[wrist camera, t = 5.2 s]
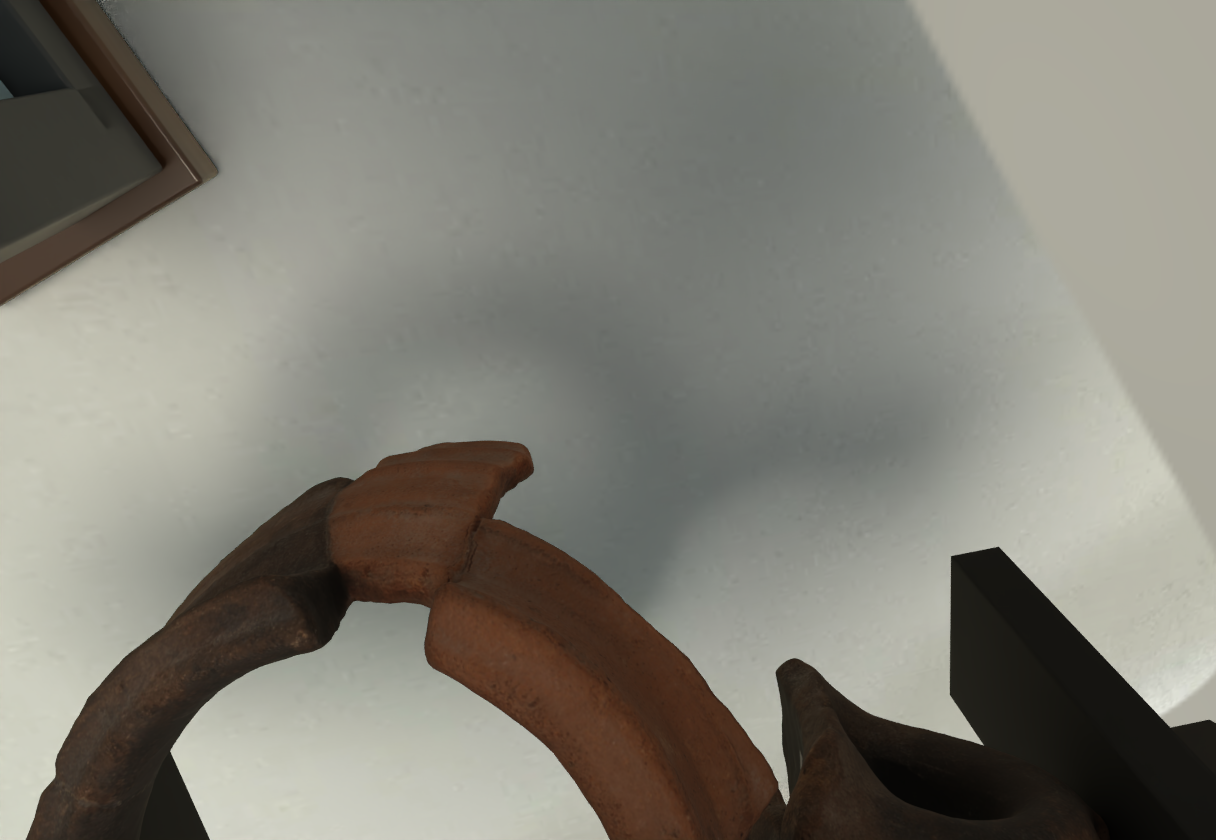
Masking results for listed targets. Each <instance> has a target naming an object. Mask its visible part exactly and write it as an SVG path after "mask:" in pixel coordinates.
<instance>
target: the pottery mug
mask: <svg viewBox="0 0 1216 840" xmlns="http://www.w3.org/2000/svg"><path fill="white" fill-rule="evenodd" d="M533 472H534V466H533V462H532V458H531V455H530V452H529V450H528V449H527V448H526V447H525V446H524V445H522V444H520V443H514V442H506V441H472V442H456V443H450V442H446V443H440V444H435V445H431V446H428V447H424V448H421V449H419V450H418V451H414V452H409V453H403V454H398V455H392V456H388V457H386V458H383V459H382V460H381V461H380V462H379V463H378V465H377V467H376V468H374V469H371V470H369V471H367V472H365V473H364V474H363V475H362V476H361V477H359V478H358V479H356V480H355V481H353V480H351V479H348V478H342V477H339V478H334V479H331V480H328V481H325V482H322V483H320V484H317V485H315V486H314V487H312V488H310V489H309V490H307V491H306V492H305V493H304V494H302V495H301V496H300V497H298V498H297V499H296V500H295V501H293V502H292V503H291V504H290V505H288V506H286V507H284V508H283V509H282V510H281V511H280V512H278V513H277V514H276V515H274V516H273V517H272V518H271V519H269V520H268V521H267V522H265V523H264V524H263V525H261V526H260V527H259V528H258V529H257V530H256V531H255V532H254V533H253V534H252V535H251V536H250V537H248V538H247V539H246V540H244V541H243V542H242V543H241V544H240V545H239V546H238V547H236V548H235V549H234V550H233V551H232V552H231V553H230V554H228V555H227V556H226V557H225V558H224V559H222V560H221V562H220V563H219V564H218V565H217V566H216V567H215V568H214V569H213V570H212V571H211V572H210V573H209V574H208V575H207V576H206V577H204V579H203V580H202V581H201V582H200V583H199V584H198V585H197V586H196V587H195V588H194V589H193V591H192V592H191V593H190V594H189V595H188V596H187V598H186V599H185V600H184V602H183V603H182V604H181V605H180V606H179V607H178V608H177V610H176V611H175V612H174V614H173V615H172V617H171V618H170V619H169V621H168V622H167V623H166V625H165V626H164V628H162V629H161V630H159V631H158V632H156V633H155V634H154V635H152V636H151V637H150V638H149V639H147V640H146V641H145V642H144V643H142V644H141V645H140V646H139V647H137V648H136V649H135V650H133V651H132V652H131V653H129V654H128V655H127V656H126V657H125V658H123V660H122V661H121V662H120V663H119V664H118V665H117V666H116V667H115V668H114V669H113V670H112V672H111V673H110V674H109V675H108V676H107V677H106V678H105V680H104V681H103V682H102V683H101V685H100V686H99V687H98V688H97V689H96V690H95V691H94V692H93V693H92V694H91V695H90V696H89V697H88V699H87V701H86V703H85V705H84V707H83V709H82V711H81V713H80V715H79V716H78V718H77V719H76V721H75V722H74V724H73V726H72V728H71V730H70V733H69V734H68V736H67V738H66V739H65V741H64V743H63V746H62V748H61V749H60V751H59V753H58V755H57V759H56V762H55V767H56V776H55V778H54V780H53V781H52V782H51V783H50V784H49V785H48V786H47V788H46V789H45V790H44V791H43V792H42V794H41V796H40V800H39V803H38V806H37V810H36V814H35V818H34V820H33V823H32V825H31V828H30V831H29V833H28V836H27V838H26V840H139V837H140V833H141V827H142V822H143V817H144V813H145V810H146V806H147V803H148V800H149V797H150V794H151V791H152V788H153V784H154V781H155V778H156V776H157V774H158V771H159V769H160V767H161V764H162V762H163V761H164V759H165V758H166V756H167V755H168V753H169V752H170V750H171V748H172V747H173V745H174V743H175V742H176V740H177V739H178V737H179V736H180V734H181V733H182V731H183V730H184V728H185V727H186V726H187V724H188V723H189V722H190V720H191V719H192V718H193V717H194V716H195V714H196V713H197V712H198V711H199V709H200V708H201V707H202V706H203V705H204V704H205V703H206V702H208V701H209V700H210V699H211V698H212V697H213V696H214V695H215V694H216V693H217V692H218V691H220V690H221V689H223V688H224V687H226V686H227V685H229V684H230V683H232V682H233V681H235V680H236V679H238V678H240V677H242V676H243V675H245V674H246V673H248V672H250V671H252V670H254V669H256V668H259V667H261V666H264V665H266V664H270V663H273V662H276V661H280V660H283V659H287V658H290V657H292V656H295V655H299V654H305V653H309V652H313V651H315V650H318V649H320V648H322V647H323V646H325V645H326V644H327V643H328V642H329V641H330V640H331V639H332V637H333V635H334V633H335V632H336V631H337V630H338V628H339V626H340V621H341V620H342V619H343V617H344V616H345V614H346V611H347V609H348V607H349V606H350V605H351V604H352V603H353V602H354V601H362V602H369V601H371V602H375V603H389V604H391V603H401V602H407V603H414V604H421V605H424V606H426V607H429V608H431V610H430V614H429V619H428V626H427V632H426V637H425V642H424V649H425V656H426V659H427V662H428V663H429V665H430V666H431V667H432V668H434V669H435V670H437V671H439V672H441V673H444V674H445V675H447V676H449V677H451V678H453V679H454V680H456V681H458V682H459V683H461V684H463V685H464V686H465V687H467V688H468V689H470V690H471V691H473V692H474V693H476V694H477V695H479V696H480V697H482V698H484V699H485V700H487V701H489V702H490V703H492V704H493V705H494V706H496V707H497V708H499V709H500V710H501V711H503V712H504V713H505V714H507V715H508V716H509V717H511V718H512V719H513V720H515V721H516V722H518V723H519V724H520V725H522V726H523V727H524V728H526V729H527V730H528V731H529V732H530V733H532V734H533V735H534V736H535V737H537V738H538V739H539V740H540V741H541V742H542V743H543V744H544V745H546V746H547V747H548V748H549V749H550V750H551V751H552V752H553V753H554V755H555V756H556V757H557V759H558V760H559V761H560V763H561V764H562V765H563V767H564V768H565V769H566V771H567V772H568V773H569V774H570V776H571V777H572V778H573V780H574V781H575V782H576V784H577V786H578V787H579V789H580V790H581V792H582V793H583V795H584V797H585V798H586V800H587V801H588V803H589V804H590V805H591V807H592V808H593V809H594V811H595V812H596V814H597V815H598V817H599V819H600V821H601V823H602V825H603V827H604V829H605V831H606V833H607V835H608V837H609V839H610V840H1110V835H1109V829H1108V827H1107V825H1106V824H1105V822H1104V821H1103V819H1102V818H1101V816H1100V815H1098V814H1097V813H1095V812H1094V810H1093V809H1091V808H1090V807H1089V806H1088V805H1087V804H1086V803H1085V802H1084V801H1083V800H1082V798H1081V797H1080V796H1079V795H1078V794H1077V793H1076V792H1075V791H1074V790H1072V789H1071V788H1070V787H1069V786H1068V785H1066V784H1065V783H1064V782H1062V781H1061V780H1059V779H1058V778H1056V777H1055V776H1053V775H1052V774H1050V773H1048V772H1047V771H1045V770H1044V769H1042V768H1040V767H1038V766H1036V765H1034V764H1031V763H1029V762H1027V761H1024V760H1022V759H1020V758H1017V757H1015V756H1013V755H1010V754H1007V753H1004V752H1001V751H998V750H995V749H993V748H990V747H987V746H983V745H980V744H977V743H974V742H971V741H967V740H963V739H959V738H955V737H951V736H948V735H945V734H941V733H937V732H933V731H929V730H926V729H922V728H917V727H911V726H907V725H904V724H900V723H896V722H893V721H889V720H886V719H883V718H880V717H877V716H873V715H871V714H869V713H867V712H866V711H864V710H862V709H861V708H859V707H858V706H856V705H855V704H854V703H852V702H851V701H849V700H848V699H847V698H845V697H844V696H843V695H842V694H841V693H840V692H838V691H837V690H836V689H835V688H834V687H832V686H831V685H830V684H829V683H828V682H827V681H826V680H825V679H824V678H823V676H822V675H821V674H820V673H819V672H818V671H817V670H816V669H815V668H813V667H812V666H810V665H809V664H806V663H805V662H803V661H801V660H799V659H797V658H793V659H790V660H788V661H786V662H784V663H783V664H782V665H781V666H780V667H779V668H778V669H777V670H776V677H777V682H778V687H779V693H780V699H781V705H782V746H783V753H784V757H785V761H786V766H787V774H788V785H789V794H790V798H789V801H788V804H787V805H786V804H785V802H784V800H783V797H782V794H781V792H780V790H779V788H778V781H777V779H776V778H775V776H774V773H773V771H772V769H771V767H770V765H769V764H768V762H767V761H766V759H765V757H764V756H763V754H762V753H761V752H760V751H759V750H758V749H757V748H756V747H755V746H754V744H753V743H752V741H751V740H750V738H749V737H748V735H747V733H746V732H745V730H744V729H743V728H742V727H741V725H740V724H739V723H738V722H737V720H736V719H735V718H734V716H733V715H732V713H731V712H730V711H729V709H728V708H727V707H726V706H725V705H724V704H723V703H722V702H721V701H720V700H719V699H718V698H717V697H716V696H715V695H714V694H713V692H712V691H711V689H710V688H709V686H708V684H707V683H706V681H705V679H704V678H703V677H702V676H701V674H700V673H699V672H698V670H697V669H696V668H695V666H694V665H693V663H692V662H691V661H690V659H689V658H688V657H687V656H686V655H685V654H683V653H682V652H681V651H680V650H679V649H678V648H677V647H676V646H675V645H674V644H673V643H671V642H670V641H669V640H668V639H666V638H665V637H664V636H663V635H662V634H660V633H659V632H658V631H657V630H655V629H654V628H653V626H652V625H651V624H649V623H648V622H647V621H646V620H645V619H644V618H643V617H642V616H641V615H640V614H638V613H637V612H636V611H634V610H633V609H632V608H631V607H630V606H629V605H628V604H626V603H625V602H624V601H623V599H622V598H621V596H620V595H619V594H617V593H616V592H615V591H614V590H613V589H612V588H610V587H609V586H608V585H607V584H606V583H605V582H604V581H603V580H601V579H600V578H599V577H598V576H597V575H596V574H595V573H594V572H592V571H591V570H589V569H588V568H587V567H585V566H584V565H582V564H581V563H580V562H578V561H577V560H575V559H574V558H572V557H571V556H569V555H568V554H567V553H565V552H563V551H562V550H560V549H558V548H556V547H555V546H553V545H551V544H549V543H548V542H546V541H544V540H542V539H540V538H538V537H536V536H534V535H532V534H530V533H528V532H527V531H524V530H522V529H519V528H516V527H514V526H512V525H511V524H509V523H507V522H504V521H501V520H495V519H493V516H494V514H495V512H496V509H497V507H498V504H499V501H500V498H502V497H503V496H504V495H505V493H506V492H508V491H509V490H511V489H513V488H515V487H516V486H517V484H518V483H519V482H522V481H524V480H526V479H527V478H528V477H529V476H531V475H532V474H533Z"/></svg>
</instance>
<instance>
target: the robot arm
mask: <svg viewBox="0 0 1216 840" xmlns="http://www.w3.org/2000/svg"><path fill="white" fill-rule="evenodd" d="M950 696H951V697H952V699H953V700H954V701H955V703H956V704H957V706H958V707H959V709H960V710H961V712H962V713H963V715H964V716H965V718H966V719H967V721H968V722H969V724H970V725H971V727H972V728H973V730H974V731H975V733H976V734H977V736H978V737H979V738H980V740H981V741H982V743H983V744H984V746H987V747H990V748H993V749H995V750H998V751H1001V752H1004V753H1007V754H1010V755H1013V756H1015V757H1017V758H1020V759H1022V760H1024V761H1027V762H1029V763H1031V764H1034V765H1036V766H1038V767H1040V768H1042V769H1044V770H1045V771H1047V772H1048V773H1050V774H1052V775H1053V776H1055V777H1056V778H1058V779H1059V780H1061V781H1062V782H1064V783H1065V784H1066V785H1068V786H1069V787H1070V788H1071V789H1072V790H1074V791H1075V792H1076V793H1077V794H1078V795H1079V796H1080V797H1081V798H1082V800H1083V801H1084V802H1085V803H1086V804H1087V805H1088V806H1089V807H1090V808H1091V809H1093V810H1094V812H1095V813H1097V814H1098V815H1100V816H1101V818H1102V819H1103V821H1104V822H1105V824H1106V825H1107V827H1108V829H1109V835H1110V840H1216V723H1214V722H1212V721H1211V720H1205V721H1201V722H1196V723H1191V724H1187V725H1182V726H1177V727H1172V728H1170V727H1169V726H1168V725H1167V724H1166V723H1165V722H1164V721H1163V720H1162V719H1161V717H1160V716H1159V715H1158V714H1157V713H1156V712H1155V711H1154V710H1153V709H1152V708H1151V707H1150V706H1149V705H1148V704H1147V703H1146V702H1145V701H1144V700H1143V698H1142V697H1141V696H1140V695H1139V694H1138V693H1137V692H1136V691H1135V690H1134V689H1133V688H1132V687H1131V686H1130V685H1129V684H1128V683H1127V682H1126V681H1125V679H1124V678H1123V677H1122V676H1121V675H1120V674H1119V673H1118V672H1117V671H1116V670H1115V669H1114V668H1113V667H1112V666H1111V665H1110V664H1109V663H1108V662H1107V661H1106V659H1105V658H1104V657H1103V656H1102V655H1101V654H1100V653H1099V652H1098V651H1097V650H1096V649H1095V648H1094V647H1093V646H1092V645H1091V644H1090V643H1089V642H1088V640H1087V639H1086V638H1085V637H1084V636H1083V635H1082V634H1081V633H1080V632H1079V631H1078V630H1077V629H1076V628H1075V627H1074V626H1073V625H1072V624H1071V623H1070V621H1069V620H1068V619H1067V618H1066V617H1065V616H1064V615H1063V614H1062V613H1061V612H1060V611H1059V610H1058V609H1057V608H1056V607H1055V606H1054V605H1053V604H1052V603H1051V601H1050V600H1049V599H1048V598H1047V597H1046V596H1045V595H1044V594H1043V593H1042V592H1041V591H1040V590H1039V589H1038V588H1037V587H1036V586H1035V585H1034V584H1033V582H1032V581H1031V580H1030V579H1029V578H1028V577H1027V576H1026V575H1025V574H1024V573H1023V572H1022V571H1021V570H1020V569H1019V568H1018V567H1017V566H1016V565H1015V563H1014V562H1013V561H1012V560H1011V559H1010V558H1009V557H1008V556H1007V555H1006V554H1005V553H1004V552H1003V551H1002V550H1001V549H1000V548H999V547H996V548H990V549H985V550H980V551H975V552H970V553H965V554H960V555H955V556H951V629H950ZM139 840H210V839H209V837H208V834H207V832H206V830H205V828H204V826H203V823H202V821H201V819H200V817H199V815H198V812H197V810H196V808H195V806H194V803H193V801H192V799H191V797H190V795H189V792H188V790H187V788H186V786H185V783H184V781H183V779H182V777H181V775H180V772H179V770H178V768H177V766H176V763H175V761H174V759H173V757H172V755H171V752H169V753H168V755H167V756H166V758H165V759H164V761H163V762H162V764H161V767H160V769H159V771H158V774H157V776H156V778H155V781H154V784H153V788H152V791H151V794H150V797H149V800H148V803H147V806H146V810H145V813H144V817H143V822H142V827H141V833H140V837H139Z"/></svg>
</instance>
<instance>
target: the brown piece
mask: <svg viewBox="0 0 1216 840" xmlns="http://www.w3.org/2000/svg"><path fill="white" fill-rule="evenodd" d="M39 2H40V3H41V4H42V6H43V7H44V8H45V10H46V11H47V12H48V14H49V15H50V16H51V18H52V19H53V20H54V22H55V23H56V24H57V26H58V27H59V28H60V30H61V31H62V32H63V34H64V35H65V37H66V38H67V39H68V41H69V42H70V43H71V45H72V46H73V47H74V49H75V50H76V51H77V53H78V54H79V55H80V57H81V58H82V59H83V61H84V62H85V63H86V65H87V66H88V67H89V69H90V70H91V72H92V73H93V74H94V76H95V77H96V78H97V80H98V81H99V82H100V84H101V85H102V86H103V88H104V89H105V90H106V92H107V93H108V94H109V96H110V97H111V98H112V100H113V101H114V102H115V104H116V105H117V106H118V108H119V109H120V110H121V112H122V113H123V114H124V116H125V117H126V118H127V120H128V121H129V123H130V124H131V125H132V127H133V128H134V129H135V131H136V132H137V133H138V135H139V136H140V137H141V139H142V140H143V141H144V143H145V144H146V145H147V147H148V148H149V149H150V151H151V152H152V153H153V155H154V156H155V158H156V159H157V160H158V162H159V163H160V164H161V166H162V170H161V172H159V173H158V174H156V175H154V176H153V177H151V178H150V179H148V180H146V181H145V182H143V183H141V184H140V185H138V186H136V187H135V188H133V189H131V190H130V191H128V192H126V193H125V194H123V195H122V196H120V197H118V198H117V199H115V200H113V201H112V202H110V203H108V204H107V205H105V206H103V207H102V208H100V209H98V210H97V211H95V212H93V213H92V214H90V215H89V216H87V217H85V218H84V219H82V220H80V221H79V222H77V223H75V224H74V225H72V226H70V227H69V228H67V229H65V230H63V231H61V232H59V233H57V234H55V235H53V236H51V237H49V238H47V239H46V240H44V241H42V242H40V243H38V244H36V245H34V246H32V247H30V248H28V249H26V250H24V251H23V252H21V253H19V254H17V255H15V256H13V257H11V258H9V259H7V260H5V261H3V262H1V263H0V306H2V305H3V304H5V303H6V302H8V301H10V300H11V299H13V298H15V297H16V296H18V295H20V294H21V293H23V292H25V291H26V290H28V289H30V288H31V287H33V286H35V285H36V284H38V283H40V282H41V281H43V280H45V279H46V278H48V277H50V276H51V275H53V274H55V273H56V272H58V271H60V270H61V269H63V268H65V267H66V266H68V265H70V264H71V263H73V262H75V261H76V260H78V259H80V258H81V257H83V256H84V255H86V254H88V253H89V252H91V251H93V250H94V249H96V248H98V247H99V246H101V245H103V244H104V243H106V242H108V241H109V240H111V239H113V238H114V237H116V236H118V235H119V234H121V233H123V232H124V231H126V230H128V229H129V228H131V227H133V226H134V225H136V224H138V223H139V222H141V221H143V220H144V219H146V218H148V217H149V216H151V215H153V214H154V213H156V212H158V211H159V210H161V209H162V208H164V207H166V206H167V205H169V204H171V203H172V202H174V201H176V200H177V199H179V198H181V197H182V196H184V195H186V194H187V193H189V192H191V191H192V190H194V189H196V188H197V187H199V186H201V185H202V184H204V183H206V182H207V181H209V180H210V179H212V178H214V177H215V176H216V175H217V173H218V172H217V169H216V167H215V166H214V165H213V163H212V162H211V160H210V159H209V158H208V156H207V155H206V153H205V152H204V151H203V149H202V148H201V146H200V145H199V144H198V142H197V141H196V139H195V138H194V137H193V135H192V134H191V132H190V131H189V130H188V128H187V127H186V126H185V124H184V123H183V121H182V120H181V119H180V117H179V116H178V114H177V113H176V112H175V110H174V109H173V107H172V106H171V105H170V103H169V102H168V100H167V99H166V98H165V96H164V95H163V93H162V92H161V91H160V89H159V88H158V87H157V85H156V84H155V82H154V81H153V80H152V78H151V77H150V75H149V74H148V73H147V71H146V70H145V68H144V67H143V66H142V64H141V63H140V61H139V60H138V59H137V57H136V56H135V54H134V53H133V52H132V50H131V49H130V47H129V46H128V45H127V43H126V42H125V41H124V39H123V38H122V36H121V35H120V34H119V32H118V31H117V29H116V28H115V27H114V25H113V24H112V22H111V21H110V20H109V18H108V17H107V15H106V14H105V13H104V11H103V10H102V8H101V7H100V6H99V4H98V3H97V2H96V0H39Z"/></svg>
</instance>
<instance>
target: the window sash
mask: <svg viewBox="0 0 1216 840" xmlns="http://www.w3.org/2000/svg"><path fill="white" fill-rule="evenodd" d="M161 170H162V166H161V164H160V163H159V162H158V160H157V159H156V158H155V156H154V155H153V153H152V152H151V151H150V149H149V148H148V147H147V145H146V144H145V143H144V141H143V140H142V139H141V137H140V136H139V135H138V133H137V132H136V131H135V129H134V128H133V127H132V125H131V124H130V123H129V121H128V120H127V118H126V117H125V116H124V114H123V113H122V112H121V110H120V109H119V108H118V106H117V105H116V104H115V102H114V101H113V100H112V98H111V97H110V96H109V94H108V93H107V92H106V90H105V89H104V88H103V86H102V85H101V84H100V82H99V81H98V80H97V78H96V77H95V76H94V74H93V73H92V72H91V70H90V69H89V67H88V66H87V65H86V63H85V62H84V61H83V59H82V58H81V57H80V55H79V54H78V53H77V51H76V50H75V49H74V47H73V46H72V45H71V43H70V42H69V41H68V39H67V38H66V37H65V35H64V34H63V32H62V31H61V30H60V28H59V27H58V26H57V24H56V23H55V22H54V20H53V19H52V18H51V16H50V15H49V14H48V12H47V11H46V10H45V8H44V7H43V6H42V4H41V3H40V2H39V0H0V263H1V262H3V261H5V260H7V259H9V258H11V257H13V256H15V255H17V254H19V253H21V252H23V251H24V250H26V249H28V248H30V247H32V246H34V245H36V244H38V243H40V242H42V241H44V240H46V239H47V238H49V237H51V236H53V235H55V234H57V233H59V232H61V231H63V230H65V229H67V228H69V227H70V226H72V225H74V224H75V223H77V222H79V221H80V220H82V219H84V218H85V217H87V216H89V215H90V214H92V213H93V212H95V211H97V210H98V209H100V208H102V207H103V206H105V205H107V204H108V203H110V202H112V201H113V200H115V199H117V198H118V197H120V196H122V195H123V194H125V193H126V192H128V191H130V190H131V189H133V188H135V187H136V186H138V185H140V184H141V183H143V182H145V181H146V180H148V179H150V178H151V177H153V176H154V175H156V174H158V173H159V172H161Z"/></svg>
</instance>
